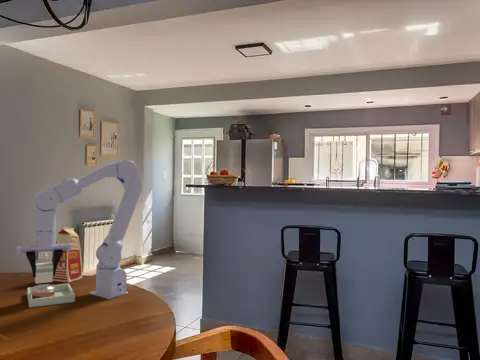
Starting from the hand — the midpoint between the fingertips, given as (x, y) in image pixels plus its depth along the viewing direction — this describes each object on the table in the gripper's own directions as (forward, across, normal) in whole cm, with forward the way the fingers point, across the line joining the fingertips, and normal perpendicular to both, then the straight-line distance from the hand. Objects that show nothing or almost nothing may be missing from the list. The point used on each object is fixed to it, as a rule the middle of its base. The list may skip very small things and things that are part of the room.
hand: (44, 275), depth 115 cm
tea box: (+2, 0, 0) cm, 2 cm away
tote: (+8, -2, -2) cm, 8 cm away
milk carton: (+8, -9, -25) cm, 28 cm away
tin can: (+7, 0, 0) cm, 7 cm away
